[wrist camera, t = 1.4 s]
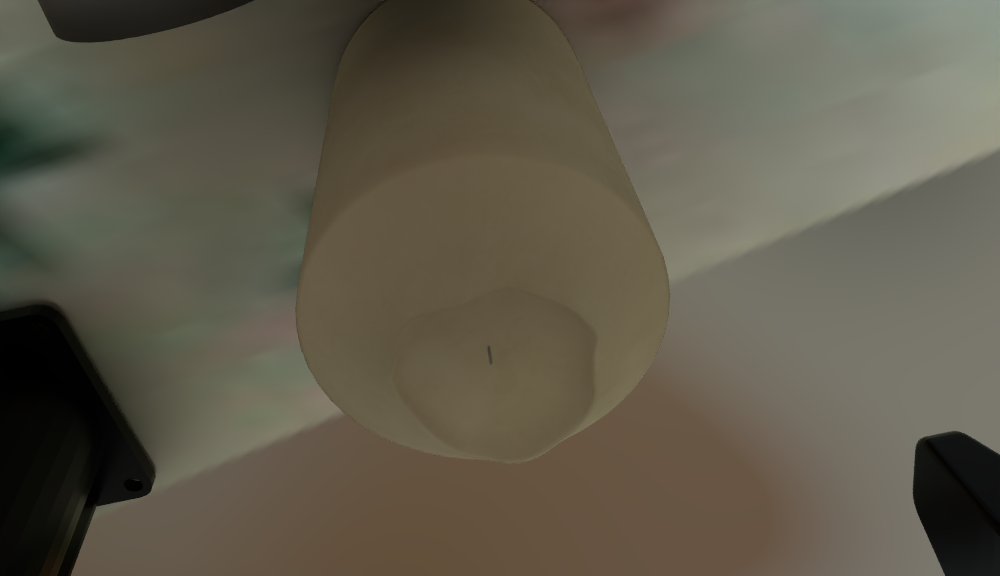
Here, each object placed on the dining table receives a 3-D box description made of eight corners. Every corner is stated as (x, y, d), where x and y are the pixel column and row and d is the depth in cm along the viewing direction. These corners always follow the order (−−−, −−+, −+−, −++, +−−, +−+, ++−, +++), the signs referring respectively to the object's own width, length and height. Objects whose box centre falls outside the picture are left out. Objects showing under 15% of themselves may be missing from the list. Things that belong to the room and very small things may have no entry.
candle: (281, 80, 20) (193, 370, 12) (482, -83, 18) (542, 118, 10) (439, 246, 23) (458, 577, 14) (626, 117, 21) (767, 403, 13)
